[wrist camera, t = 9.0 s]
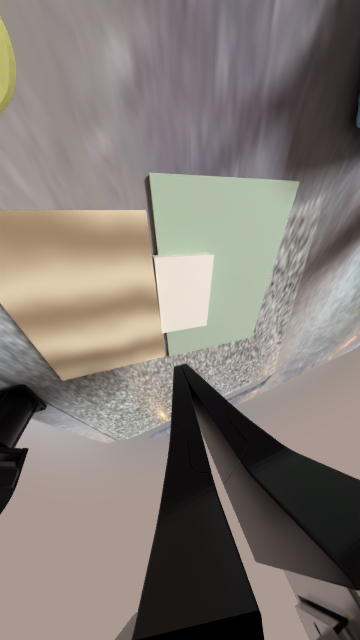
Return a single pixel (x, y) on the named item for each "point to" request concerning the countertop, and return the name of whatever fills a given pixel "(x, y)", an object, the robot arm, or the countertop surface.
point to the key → (6, 68)
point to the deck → (81, 287)
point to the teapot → (358, 114)
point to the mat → (223, 245)
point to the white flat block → (183, 289)
